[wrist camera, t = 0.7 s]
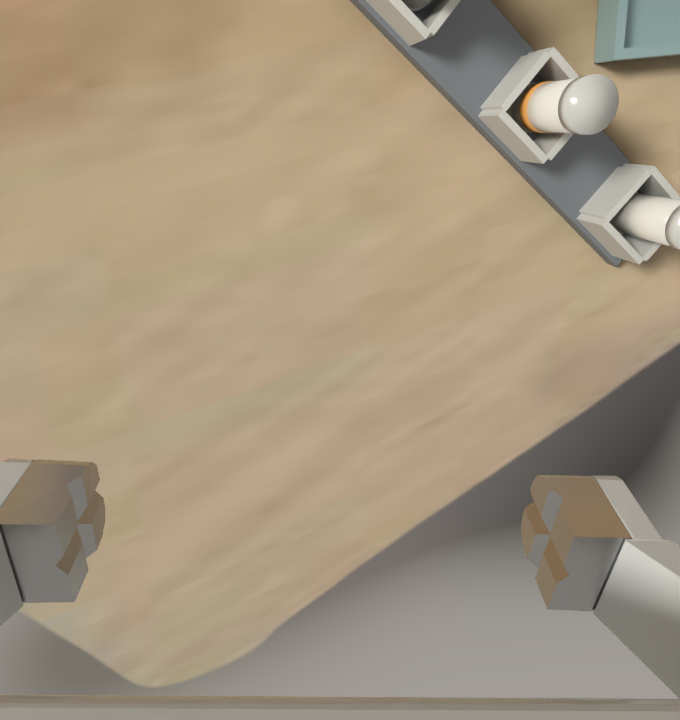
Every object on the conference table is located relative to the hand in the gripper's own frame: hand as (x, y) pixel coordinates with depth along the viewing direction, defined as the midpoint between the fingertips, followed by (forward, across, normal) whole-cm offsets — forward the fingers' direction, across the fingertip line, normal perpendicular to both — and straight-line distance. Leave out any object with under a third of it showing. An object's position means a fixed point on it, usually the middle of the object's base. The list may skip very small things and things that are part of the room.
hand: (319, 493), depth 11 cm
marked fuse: (+44, -17, -2) cm, 47 cm away
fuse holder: (+46, -17, -2) cm, 49 cm away
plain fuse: (+44, -28, +6) cm, 53 cm away
